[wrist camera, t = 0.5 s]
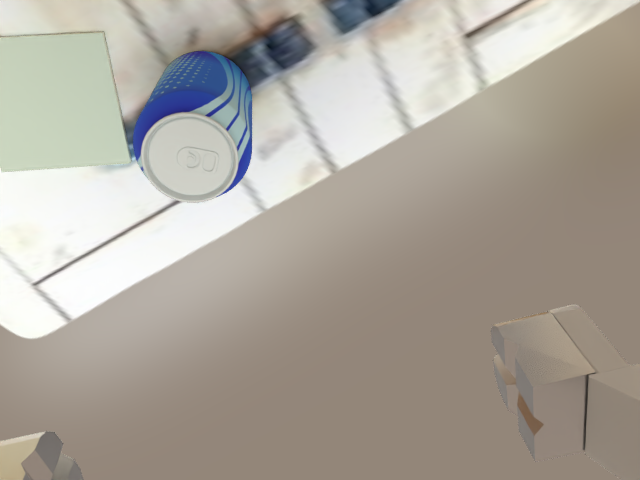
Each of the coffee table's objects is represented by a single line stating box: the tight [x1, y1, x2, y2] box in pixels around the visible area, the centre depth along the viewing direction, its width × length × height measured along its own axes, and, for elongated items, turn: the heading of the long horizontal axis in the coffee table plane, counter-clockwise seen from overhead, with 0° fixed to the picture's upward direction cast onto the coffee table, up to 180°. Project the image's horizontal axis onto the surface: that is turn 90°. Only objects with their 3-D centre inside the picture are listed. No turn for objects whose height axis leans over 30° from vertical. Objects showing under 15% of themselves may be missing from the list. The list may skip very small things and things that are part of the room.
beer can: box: [133, 51, 252, 203], centre depth 45 cm, size 8×8×16 cm
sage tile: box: [0, 32, 132, 172], centre depth 51 cm, size 12×12×1 cm
